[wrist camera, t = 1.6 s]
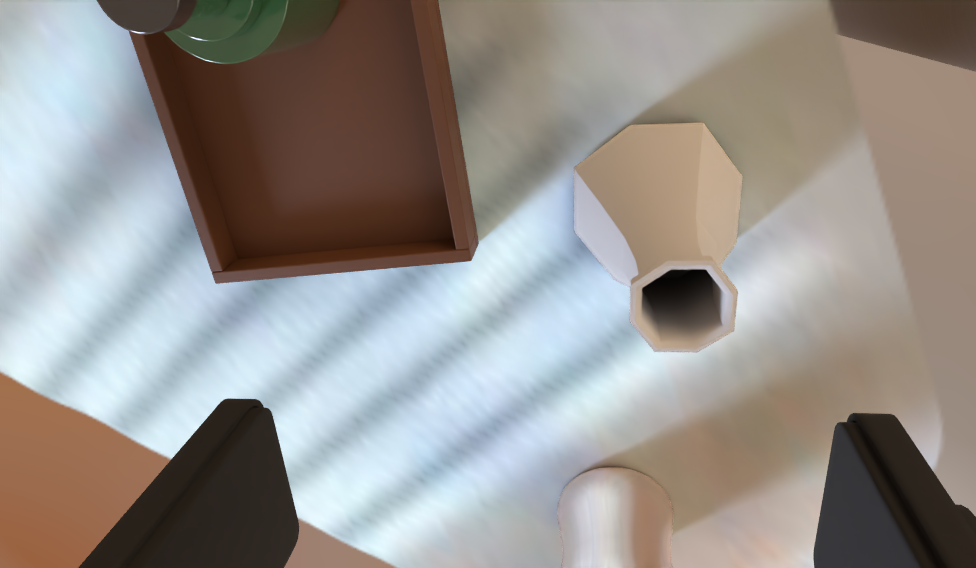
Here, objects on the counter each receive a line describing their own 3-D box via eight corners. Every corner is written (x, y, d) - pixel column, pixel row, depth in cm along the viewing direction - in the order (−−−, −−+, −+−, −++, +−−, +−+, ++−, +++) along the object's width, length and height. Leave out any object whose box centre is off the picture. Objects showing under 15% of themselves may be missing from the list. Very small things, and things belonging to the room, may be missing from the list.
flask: (600, 298, 31) (603, 432, 22) (546, 153, 29) (525, 237, 20) (761, 252, 29) (836, 377, 20) (719, 91, 27) (782, 153, 18)
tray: (52, -298, 24) (7, -320, 23) (373, -388, 22) (352, -422, 20) (236, 266, 33) (215, 284, 31) (479, 243, 31) (471, 261, 29)
